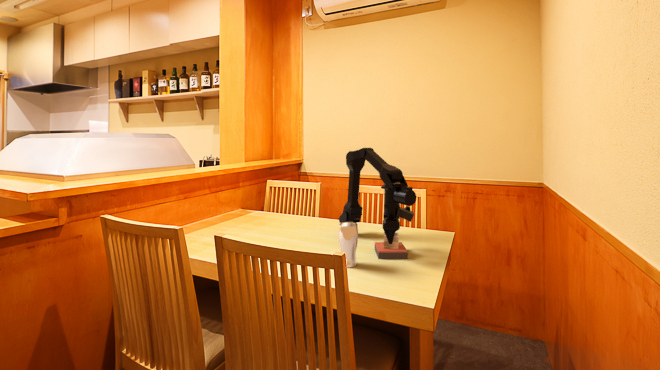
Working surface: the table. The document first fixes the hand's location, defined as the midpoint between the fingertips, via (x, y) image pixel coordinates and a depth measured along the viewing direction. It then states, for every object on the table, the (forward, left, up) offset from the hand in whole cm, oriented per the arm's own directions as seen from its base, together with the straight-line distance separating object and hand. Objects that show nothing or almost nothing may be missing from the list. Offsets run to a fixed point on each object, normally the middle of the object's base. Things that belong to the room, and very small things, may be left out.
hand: (390, 240), depth 130 cm
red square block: (0, 0, -6) cm, 6 cm away
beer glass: (-15, -14, -6) cm, 21 cm away
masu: (0, 0, -2) cm, 3 cm away
